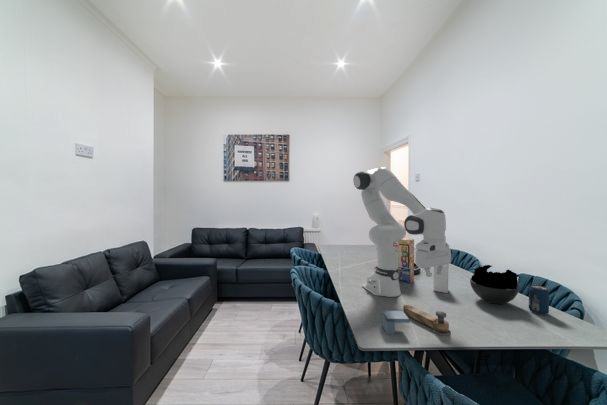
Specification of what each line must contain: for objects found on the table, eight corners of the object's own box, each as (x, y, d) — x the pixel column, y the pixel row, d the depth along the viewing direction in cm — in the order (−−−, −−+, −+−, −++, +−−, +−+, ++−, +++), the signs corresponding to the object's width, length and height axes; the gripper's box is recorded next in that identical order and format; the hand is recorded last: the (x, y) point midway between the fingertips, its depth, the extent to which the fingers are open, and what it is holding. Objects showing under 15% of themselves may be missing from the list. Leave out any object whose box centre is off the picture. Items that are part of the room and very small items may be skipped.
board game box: (414, 280, 162) (414, 239, 162) (410, 283, 158) (411, 240, 157) (384, 274, 176) (384, 235, 176) (380, 276, 172) (380, 236, 171)
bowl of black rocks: (461, 294, 140) (462, 260, 139) (498, 294, 139) (499, 261, 139) (486, 310, 120) (487, 271, 119) (529, 311, 119) (530, 271, 119)
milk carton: (447, 293, 141) (448, 259, 141) (433, 290, 145) (433, 258, 144) (448, 289, 147) (448, 257, 147) (434, 287, 151) (434, 255, 151)
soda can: (546, 311, 119) (546, 286, 119) (551, 317, 113) (551, 290, 113) (526, 307, 123) (527, 283, 122) (530, 313, 117) (531, 288, 116)
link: (451, 331, 101) (452, 314, 100) (443, 334, 98) (443, 317, 98) (408, 310, 119) (408, 296, 119) (400, 312, 116) (400, 298, 116)
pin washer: (427, 328, 103) (427, 328, 103) (438, 324, 106) (438, 324, 106) (443, 337, 97) (443, 336, 97) (454, 332, 100) (454, 332, 100)
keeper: (387, 334, 99) (387, 318, 99) (382, 325, 106) (382, 310, 106) (408, 334, 99) (409, 319, 99) (402, 325, 106) (402, 310, 106)
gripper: (442, 241, 120) (441, 270, 120) (412, 245, 110) (412, 276, 111) (455, 243, 114) (455, 273, 114) (425, 247, 105) (425, 280, 105)
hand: (433, 275), depth 112 cm, fingers open, 5 cm apart
